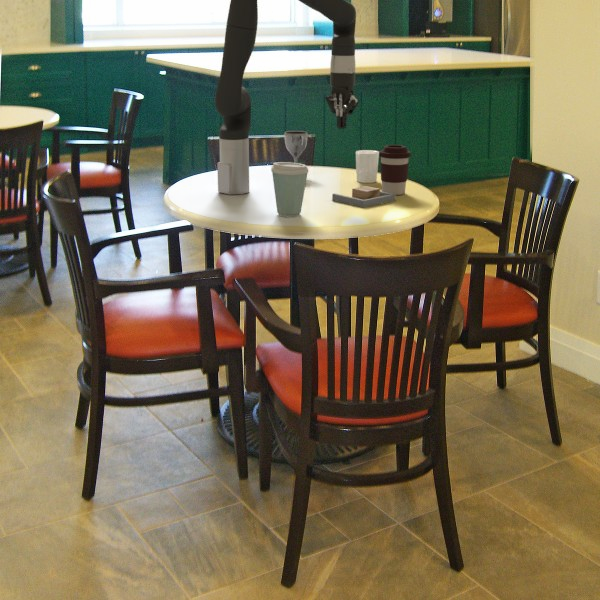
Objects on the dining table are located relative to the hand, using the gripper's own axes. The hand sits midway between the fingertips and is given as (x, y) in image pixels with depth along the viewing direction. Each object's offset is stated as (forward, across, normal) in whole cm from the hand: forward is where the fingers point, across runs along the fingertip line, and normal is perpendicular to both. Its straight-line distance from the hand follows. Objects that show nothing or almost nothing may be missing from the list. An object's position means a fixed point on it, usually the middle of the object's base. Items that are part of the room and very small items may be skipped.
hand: (341, 128), depth 274 cm
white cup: (+21, -11, +23) cm, 33 cm away
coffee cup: (+21, +9, +15) cm, 27 cm away
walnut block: (+21, +11, 0) cm, 24 cm away
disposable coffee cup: (+21, +10, -30) cm, 38 cm away
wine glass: (+21, -35, +12) cm, 42 cm away
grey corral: (+21, +10, 0) cm, 23 cm away
